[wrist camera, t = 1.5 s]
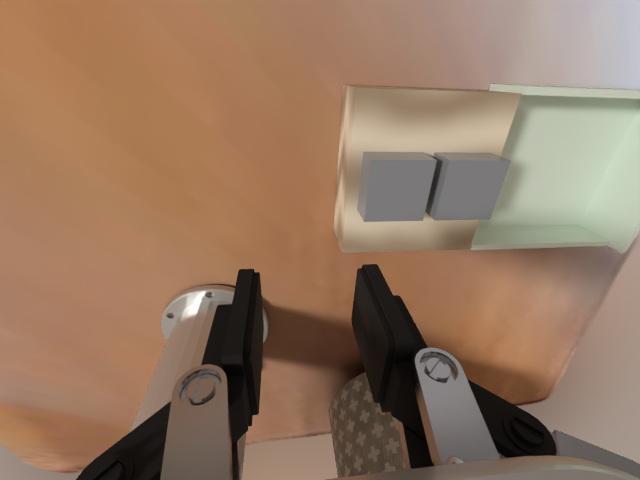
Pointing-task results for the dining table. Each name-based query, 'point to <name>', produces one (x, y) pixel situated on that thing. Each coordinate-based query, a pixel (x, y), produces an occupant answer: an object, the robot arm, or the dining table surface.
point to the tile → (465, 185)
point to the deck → (412, 136)
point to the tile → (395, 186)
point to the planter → (363, 432)
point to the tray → (568, 171)
